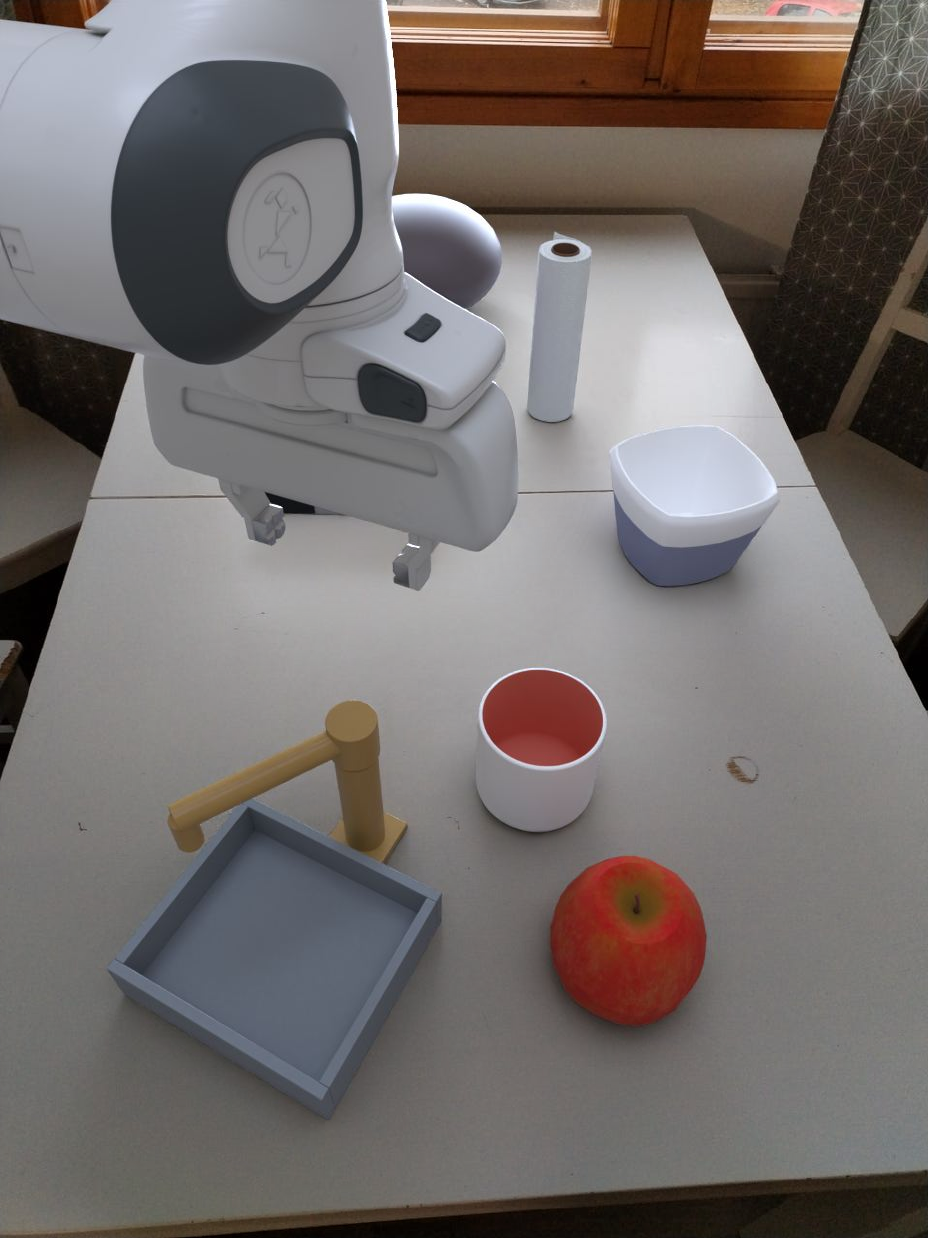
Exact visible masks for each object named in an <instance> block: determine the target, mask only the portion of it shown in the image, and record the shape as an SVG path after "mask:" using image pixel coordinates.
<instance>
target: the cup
mask: <svg viewBox="0 0 928 1238" xmlns="http://www.w3.org/2000/svg"><path fill="white" fill-rule="evenodd" d="M477 715H478V716H477V735H476V757H475V786H476V790H477V792H478V795H479V797H480V800H481V802H482V803H483V805H484V806H485V807H486V809H487V810H488V811H489V812H490V813H491V815H492V816H494V818H496V819H497V820H499V821H500V822H502V823H503V824H505V825H507V826H509V827H511V828H514V829H517V830H520V831H524V832H532V833H543V832H551V831H554V830H555V831H556V830H558V829H561V828H563V827H565V826H567V825H569V824H571V823H573V822H574V821H575V820H576V819H578V818H579V817H580V815H582V813H583V812H584V811H585V810H586V808H587V807H588V806H589V803H590V801H591V799H592V796H593V792H594V789H595V785H596V779H597V775H598V770H599V765H600V760H601V756H602V753H603V752H602V751H603V748H604V743H605V738H606V733H607V729H608V728H607V726H608V720H607V714H606V709H605V707H604V705H603V703H602V701H601V699H600V698H599V696H598V695H597V693H596V692H595V690H593V689H592V688H591V687H590V686H589V685H588V684H586V683H585V682H584V681H583V680H581V679H579V678H578V677H576V676H574V675H572V674H570V673H567V672H564V671H562V670H557V669H553V668H547V667H546V668H545V667H531V668H522V669H519V670H515V671H512V672H509V673H507V674H505V675H503V676H501V677H500V678H499V679H497V680H496V681H495V682H493V683H492V684H491V685H490V687H489V688H488V689H487V690H486V691H485V693H484V694H483V696H482V698H481V701H480V704H479V707H478V714H477Z"/></svg>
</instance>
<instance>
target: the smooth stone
mask: <svg viewBox="0 0 928 1238" xmlns="http://www.w3.org/2000/svg"><path fill="white" fill-rule="evenodd" d="M392 212H393V218H394V223H395V227H396V230H397V233H398V236H399V239H400V242H401V246H402V250H403V260H404V272H405V273H407V274H408V275H410V276H412V277H413V278H415V279H416V280H417V281H419V282H420V283H422V284H423V285H425V286H426V287H428V288H429V289H431V290H432V291H434V292H436V293H437V294H439V295H441V296H442V297H444V298H446V299H447V300H449V301H451V302H453V303H454V304H456V305H458V306H460V307H461V308H463V309H465V310H467V309H469V308H471V307H473V306H475V305H476V304H477V303H478V302H479V301H481V300H482V299H483V298H484V297H485V296H486V295H487V294H488V293H489V292H490V291H491V290H492V289H493V287H494V285H495V284H496V282H497V280H498V277H499V276H500V273H501V268H502V264H503V255H502V246H501V243H500V240H499V238H498V236H497V233H496V232H495V230H494V228H493V227H492V226H491V225H490V224H489V223H488V221H486V219H485V218H484V217H483V216H482V215H481V214H480V213H478V212H476V211H475V210H473V209H472V208H470V207H469V206H467V205H466V204H463V203H461V202H459V201H456V200H453V199H450V198H448V197H445V196H440V195H435V194H428V193H404V194H396V195H392Z"/></svg>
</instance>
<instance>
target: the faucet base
mask: <svg viewBox="0 0 928 1238" xmlns="http://www.w3.org/2000/svg"><path fill="white" fill-rule="evenodd" d="M334 769H335V776H336V783H337V790H338V795H339V802H340V808H341V815H342V817H341V819H340V820H339V822H337V825H336V826H335V827H334V829H333V830H332V832H331V833H330V835H329V837H331V838H333V839H334V840H336V841H338V842H340V843H342V844H344V845H346V846H348V847H350V848H352V849H354V850H356V851H358V852H360V853H362V854H364V855H366V856H368V857H370V858H372V859H374V860H376V861H378V862H380V863H382V864H384V865H386V863H387V861H388V859H389V858H390V856H391V855H392V854H393V852H394V850H395V848H396V847H397V845H398V844H399V843H400V841H401V839H402V838H403V836H404V834H405V832H406V831H407V830H408V823H407V822H406V821H404V820H403V819H400V818H398V817H396V816H395V815H392V814H389V813H387V812H385V811H384V803H383V802H384V801H383V794H382V793H383V792H382V781H381V780H382V779H381V769H380V759H379V757H378V759H377V760H376V761H375V763H374V764H373V765H371V766H370V767H368V768H366V769H364V770H361V771H346V770H343V769H341V768H339V767H338V766H336V765H335V764H334Z"/></svg>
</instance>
